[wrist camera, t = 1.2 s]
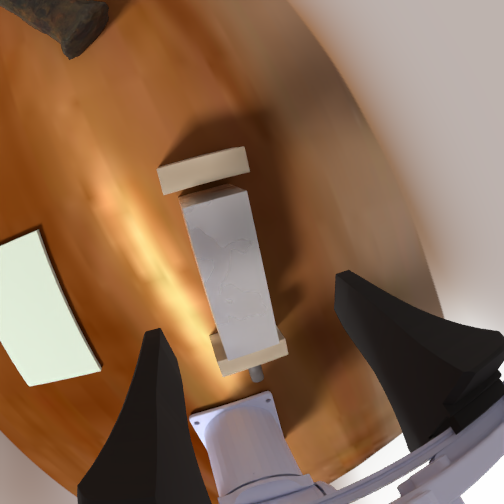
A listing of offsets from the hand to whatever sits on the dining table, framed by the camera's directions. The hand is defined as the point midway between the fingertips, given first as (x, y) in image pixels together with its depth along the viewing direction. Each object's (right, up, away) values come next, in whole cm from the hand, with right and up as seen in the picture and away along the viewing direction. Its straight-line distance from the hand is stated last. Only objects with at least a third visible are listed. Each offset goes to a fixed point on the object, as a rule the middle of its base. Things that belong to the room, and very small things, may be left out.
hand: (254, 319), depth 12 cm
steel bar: (-2, +2, +10) cm, 11 cm away
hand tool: (-18, +21, 0) cm, 28 cm away
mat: (-17, -2, +7) cm, 19 cm away
